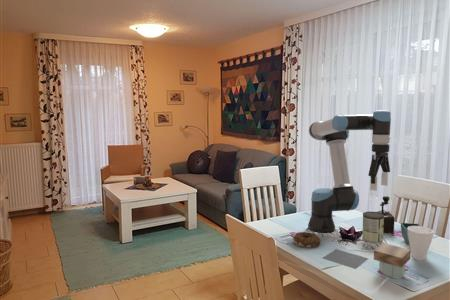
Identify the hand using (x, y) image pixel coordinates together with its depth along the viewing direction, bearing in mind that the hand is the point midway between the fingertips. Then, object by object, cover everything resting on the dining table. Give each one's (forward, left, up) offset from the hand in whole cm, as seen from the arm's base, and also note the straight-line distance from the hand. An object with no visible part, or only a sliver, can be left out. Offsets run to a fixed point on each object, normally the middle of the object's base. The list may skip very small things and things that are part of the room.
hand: (378, 187), depth 162 cm
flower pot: (+9, +23, -32) cm, 40 cm away
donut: (-29, -15, -32) cm, 46 cm away
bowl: (+13, -18, -32) cm, 39 cm away
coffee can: (-7, +13, -32) cm, 35 cm away
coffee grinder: (-10, +34, -32) cm, 48 cm away
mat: (-7, -19, -32) cm, 38 cm away
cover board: (+13, -18, -26) cm, 34 cm away
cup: (+17, +6, -32) cm, 37 cm away
